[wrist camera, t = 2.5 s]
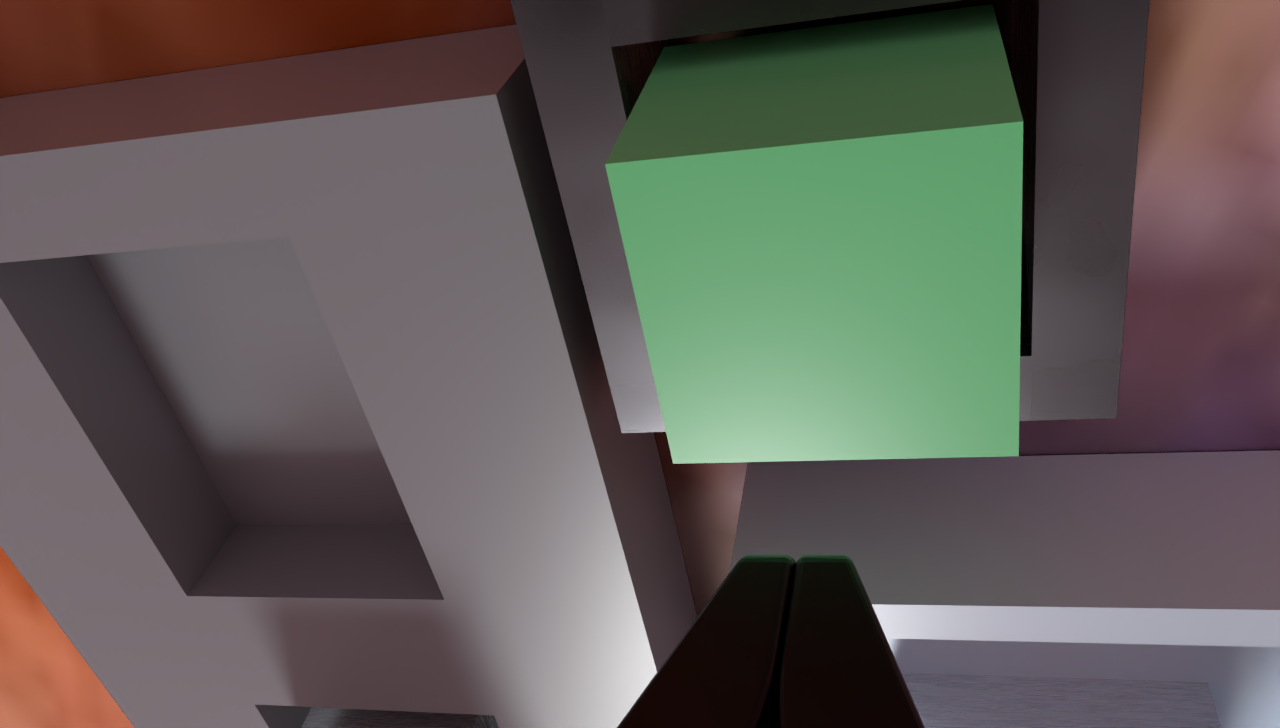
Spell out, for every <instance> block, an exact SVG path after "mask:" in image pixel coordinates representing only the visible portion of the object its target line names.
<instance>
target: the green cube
mask: <svg viewBox="0 0 1280 728" xmlns="http://www.w3.org/2000/svg"><path fill="white" fill-rule="evenodd" d="M605 167H606V171H607V175H608V180H609V184H610V189H611V193H612V197H613V202H614V206H615V211H616V215H617V219H618V224H619V228H620V232H621V237H622V241H623V246H624V250H625V254H626V259H627V263H628V268H629V272H630V276H631V281H632V285H633V290H634V294H635V298H636V303H637V307H638V312H639V316H640V320H641V325H642V329H643V334H644V338H645V342H646V347H647V351H648V356H649V360H650V364H651V369H652V373H653V378H654V382H655V386H656V391H657V395H658V400H659V404H660V408H661V413H662V417H663V422H664V426H665V430H666V435H667V439H668V444H669V448H670V452H671V457H672V461H673V464H687V463H733V462H779V461H824V460H870V459H915V458H961V457H1007V456H1019V401H1020V327H1021V254H1022V181H1023V118H1022V114H1021V111H1020V107H1019V103H1018V99H1017V95H1016V91H1015V88H1014V84H1013V80H1012V76H1011V72H1010V68H1009V65H1008V61H1007V57H1006V53H1005V49H1004V46H1003V42H1002V38H1001V34H1000V30H999V26H998V23H997V19H996V15H995V11H994V7H993V4H989V5H981V6H973V7H966V8H958V9H951V10H943V11H935V12H928V13H920V14H913V15H905V16H897V17H890V18H882V19H875V20H867V21H859V22H852V23H844V24H836V25H829V26H821V27H814V28H806V29H798V30H791V31H783V32H776V33H768V34H760V35H753V36H745V37H737V38H730V39H722V40H715V41H707V42H699V43H692V44H684V45H677V46H669V47H664V48H663V50H662V52H661V54H660V56H659V58H658V60H657V62H656V64H655V66H654V68H653V70H652V72H651V74H650V76H649V78H648V80H647V82H646V84H645V86H644V88H643V90H642V92H641V94H640V96H639V98H638V100H637V102H636V104H635V105H634V107H633V109H632V111H631V113H630V115H629V117H628V119H627V121H626V123H625V125H624V127H623V129H622V131H621V133H620V135H619V137H618V139H617V141H616V143H615V145H614V147H613V149H612V151H611V153H610V155H609V157H608V159H607V161H606V163H605Z"/></svg>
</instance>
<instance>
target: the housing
mask: <svg viewBox="0 0 1280 728" xmlns="http://www.w3.org/2000/svg"><path fill="white" fill-rule="evenodd" d="M952 1H960V0H510V2H511V6H512V10H513V13H514V17H515V21H516V25H517V29H518V33H519V37H520V41H521V44H522V48H523V52H524V56H525V60H526V64H527V68H528V72H529V76H530V79H531V83H532V87H533V91H534V95H535V99H536V103H537V107H538V110H539V114H540V118H541V122H542V126H543V130H544V134H545V138H546V141H547V145H548V149H549V153H550V157H551V161H552V165H553V169H554V173H555V176H556V180H557V184H558V188H559V192H560V196H561V200H562V204H563V207H564V211H565V215H566V219H567V223H568V227H569V231H570V235H571V238H572V242H573V246H574V250H575V254H576V258H577V262H578V266H579V270H580V273H581V277H582V281H583V285H584V289H585V293H586V297H587V301H588V304H589V308H590V312H591V316H592V320H593V324H594V328H595V332H596V335H597V339H598V343H599V347H600V351H601V355H602V359H603V363H604V366H605V370H606V374H607V378H608V382H609V386H610V390H611V394H612V398H613V401H614V405H615V409H616V413H617V417H618V421H619V425H620V429H621V432H622V433H645V432H666V430H665V426H664V422H663V417H662V413H661V408H660V404H659V400H658V395H657V391H656V386H655V382H654V378H653V373H652V369H651V364H650V360H649V356H648V351H647V347H646V342H645V338H644V334H643V329H642V325H641V320H640V316H639V312H638V307H637V303H636V298H635V294H634V290H633V285H632V281H631V276H630V272H629V268H628V263H627V259H626V254H625V250H624V246H623V241H622V237H621V232H620V228H619V224H618V219H617V215H616V211H615V206H614V202H613V197H612V193H611V189H610V184H609V180H608V175H607V171H606V167H605V163H606V161H607V159H608V157H609V155H610V153H611V151H612V149H613V147H614V145H615V143H616V141H617V139H618V137H619V135H620V133H621V131H622V129H623V127H624V125H625V123H626V121H627V119H628V117H629V115H630V113H631V111H632V109H633V107H634V105H635V104H636V102H637V100H638V98H639V96H640V94H641V92H642V90H643V88H644V86H645V84H646V82H647V80H648V78H649V76H650V74H651V72H652V70H653V68H654V66H655V64H656V62H657V60H658V58H659V56H660V54H661V52H662V50H663V48H664V47H668V42H667V39H675V38H682V37H690V36H697V35H705V34H712V33H720V32H727V31H735V30H742V29H750V28H757V27H765V26H772V25H780V24H787V23H795V22H802V21H810V20H817V19H825V18H832V17H840V16H847V15H855V14H862V13H870V12H877V11H885V10H892V9H900V8H907V7H915V6H922V5H930V4H937V3H945V2H952ZM1148 13H1149V0H1012V80H1013V84H1014V88H1015V91H1016V95H1017V99H1018V103H1019V107H1020V111H1021V114H1022V118H1023V181H1022V254H1021V327H1020V401H1019V421H1040V420H1073V419H1106V418H1116V417H1117V404H1118V391H1119V379H1120V366H1121V354H1122V341H1123V328H1124V316H1125V303H1126V290H1127V278H1128V265H1129V253H1130V240H1131V227H1132V215H1133V202H1134V190H1135V177H1136V164H1137V152H1138V139H1139V126H1140V114H1141V101H1142V89H1143V76H1144V63H1145V51H1146V38H1147V26H1148Z"/></svg>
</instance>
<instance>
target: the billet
mask: <svg viewBox="0 0 1280 728" xmlns="http://www.w3.org/2000/svg"><path fill="white" fill-rule="evenodd" d="M902 676H903V678H904V680H905V682H906V685H907V687H908V689H909V692H910V694H911V696H912V699H913V701H914V703H915V706H916V708H917V710H918V713H919V715H920V717H921V719H922V722H923V724H924V726H925V728H1221V725H1220V721H1219V718H1218V715H1217V711H1216V708H1215V704H1214V701H1213V698H1212V694H1211V691H1210V688H1209V684H1208V682H1180V681H1147V680H1115V679H1083V678H1050V677H1018V676H986V675H953V674H921V673H902Z"/></svg>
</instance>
